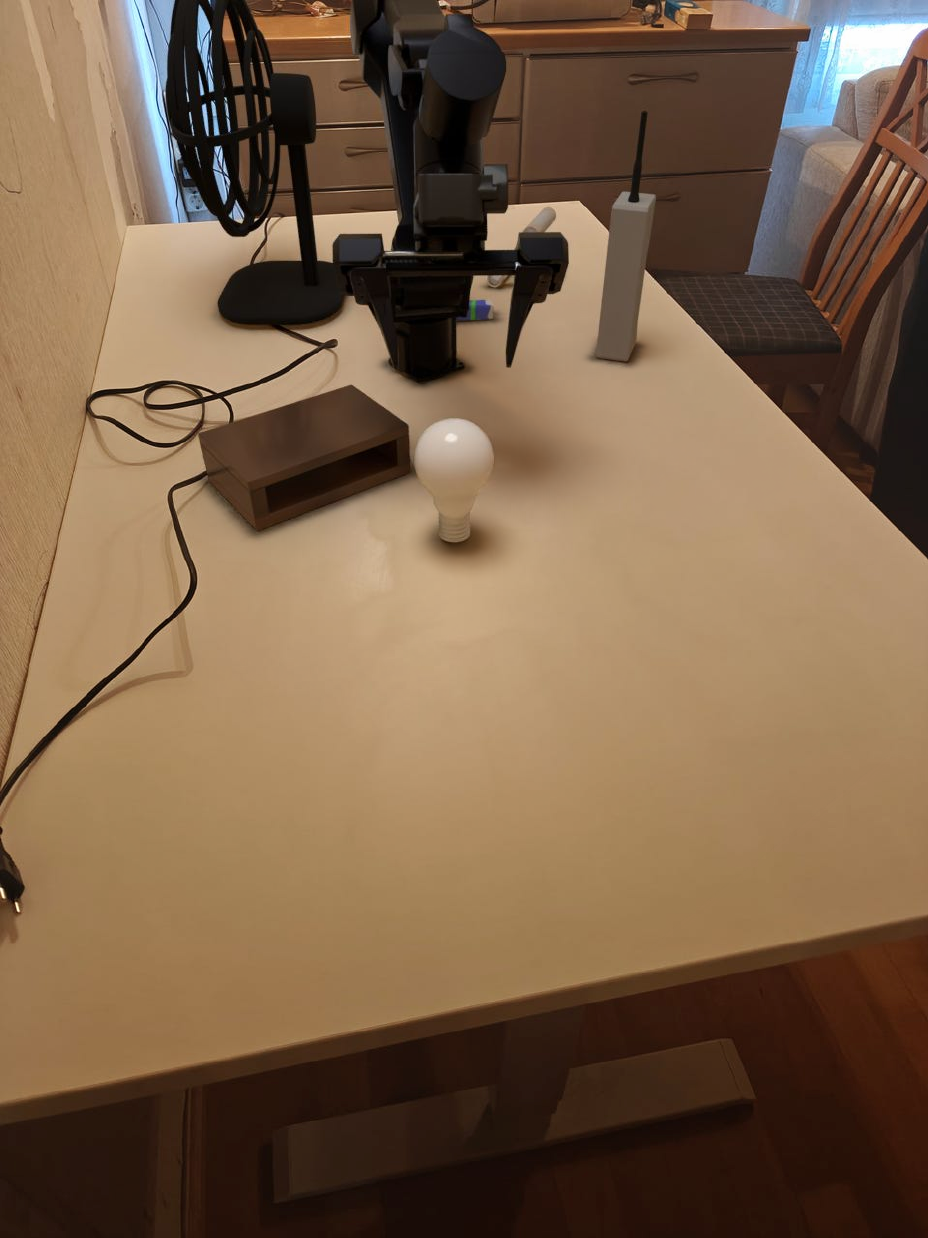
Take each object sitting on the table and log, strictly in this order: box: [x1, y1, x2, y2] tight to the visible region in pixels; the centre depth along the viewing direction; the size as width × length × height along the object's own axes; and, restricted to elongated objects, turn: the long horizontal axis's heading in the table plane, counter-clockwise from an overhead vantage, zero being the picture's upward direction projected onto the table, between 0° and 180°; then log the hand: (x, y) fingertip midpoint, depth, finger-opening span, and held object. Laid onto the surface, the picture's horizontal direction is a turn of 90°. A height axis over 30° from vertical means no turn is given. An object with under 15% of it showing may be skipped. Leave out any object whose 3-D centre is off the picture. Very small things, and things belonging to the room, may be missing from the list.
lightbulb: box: [413, 417, 495, 543], centre depth 70 cm, size 6×6×11 cm
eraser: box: [457, 298, 495, 322], centre depth 108 cm, size 2×6×2 cm, turn 98°
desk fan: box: [165, 0, 346, 326], centre depth 102 cm, size 27×18×35 cm, turn 0°
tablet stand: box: [486, 206, 557, 288], centre depth 116 cm, size 9×8×8 cm
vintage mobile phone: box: [595, 110, 657, 363], centre depth 93 cm, size 4×5×25 cm
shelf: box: [197, 384, 412, 532], centre depth 80 cm, size 16×10×5 cm, turn 127°
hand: (452, 366), depth 71 cm, fingers open, 9 cm apart
